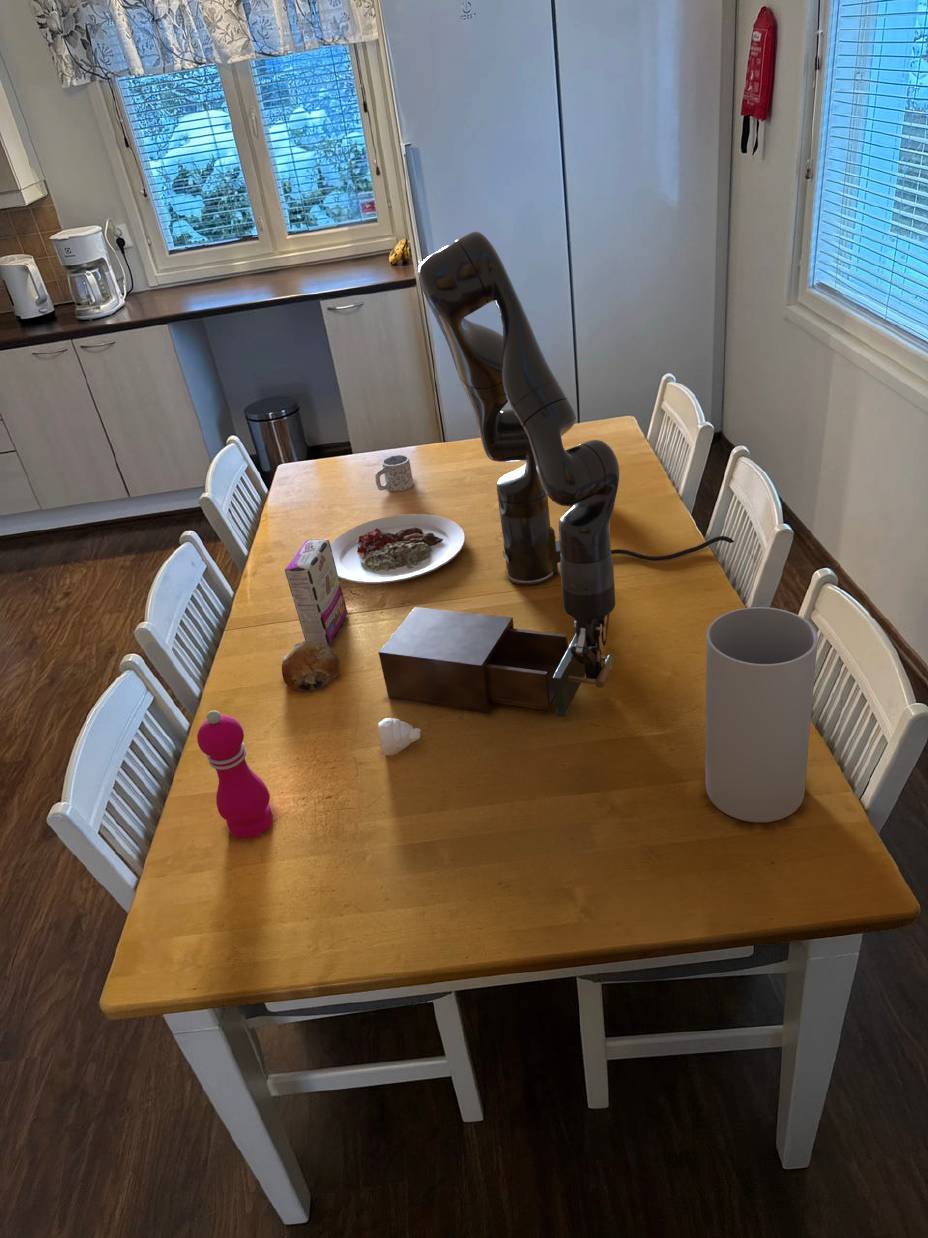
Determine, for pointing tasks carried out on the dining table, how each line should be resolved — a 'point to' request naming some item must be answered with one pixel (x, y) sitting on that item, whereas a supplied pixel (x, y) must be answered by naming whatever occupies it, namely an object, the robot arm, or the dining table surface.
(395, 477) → the mug
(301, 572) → the candy bar box
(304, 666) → the bread roll
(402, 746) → the garlic bulb
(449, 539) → the plated food
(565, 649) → the drawer
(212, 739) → the pepper mill
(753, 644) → the cylinder vase
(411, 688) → the cabinet
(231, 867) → the dining table surface
